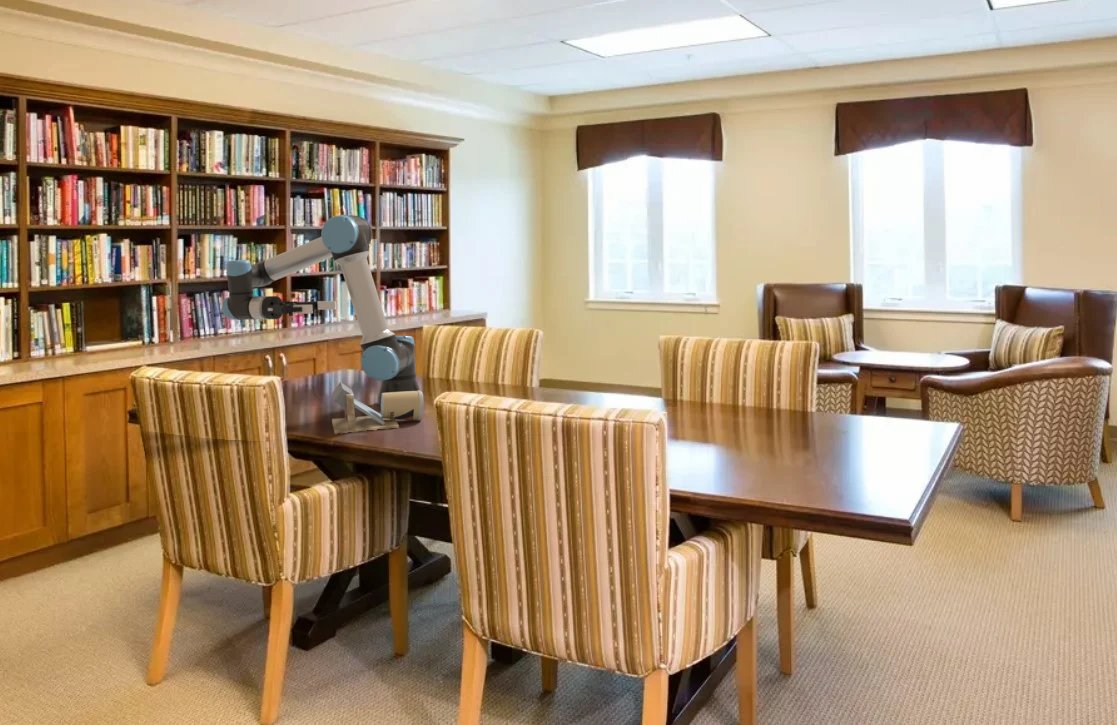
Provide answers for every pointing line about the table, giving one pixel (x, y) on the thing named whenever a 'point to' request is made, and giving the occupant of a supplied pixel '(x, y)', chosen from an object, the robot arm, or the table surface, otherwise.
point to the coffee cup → (402, 405)
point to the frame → (358, 420)
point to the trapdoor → (340, 398)
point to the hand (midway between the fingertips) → (324, 307)
